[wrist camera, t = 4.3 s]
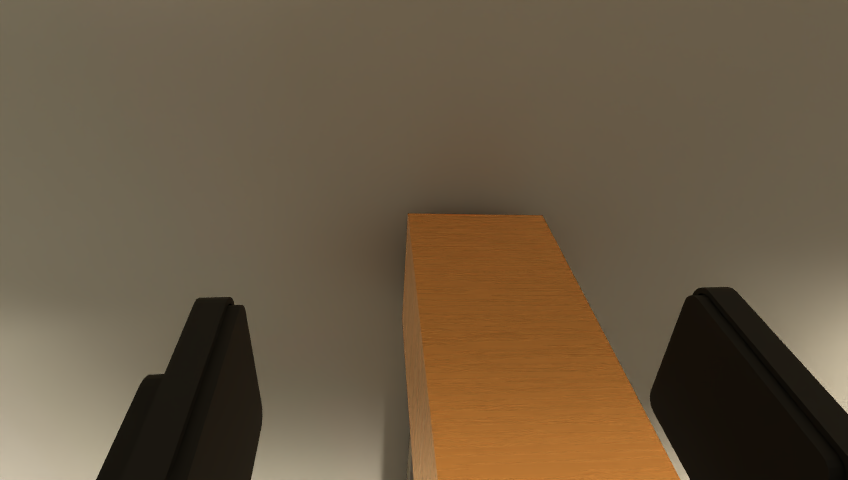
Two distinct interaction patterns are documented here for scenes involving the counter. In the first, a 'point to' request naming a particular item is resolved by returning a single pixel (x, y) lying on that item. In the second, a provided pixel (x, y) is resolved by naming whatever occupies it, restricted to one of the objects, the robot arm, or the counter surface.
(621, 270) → the counter surface
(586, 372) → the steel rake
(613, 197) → the counter surface
